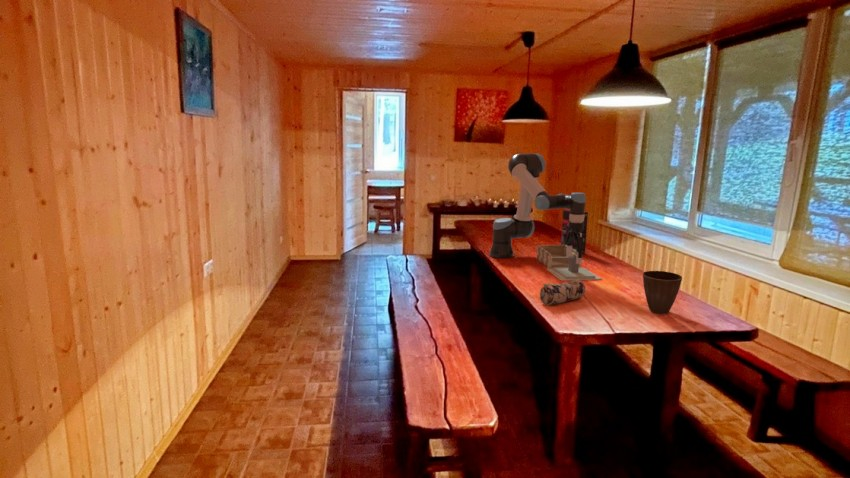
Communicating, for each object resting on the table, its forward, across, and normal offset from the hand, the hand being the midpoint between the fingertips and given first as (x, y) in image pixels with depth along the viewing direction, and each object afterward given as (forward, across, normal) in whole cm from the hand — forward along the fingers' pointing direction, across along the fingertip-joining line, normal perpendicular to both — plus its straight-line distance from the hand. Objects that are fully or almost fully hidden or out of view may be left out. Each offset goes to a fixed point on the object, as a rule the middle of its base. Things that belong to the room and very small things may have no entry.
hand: (573, 260), depth 259 cm
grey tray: (+8, 0, 0) cm, 8 cm away
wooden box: (+8, +23, 0) cm, 25 cm away
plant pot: (+8, -59, -14) cm, 61 cm away
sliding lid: (+7, 0, 0) cm, 7 cm away
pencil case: (+8, -42, +22) cm, 49 cm away
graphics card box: (+9, +54, -22) cm, 59 cm away
